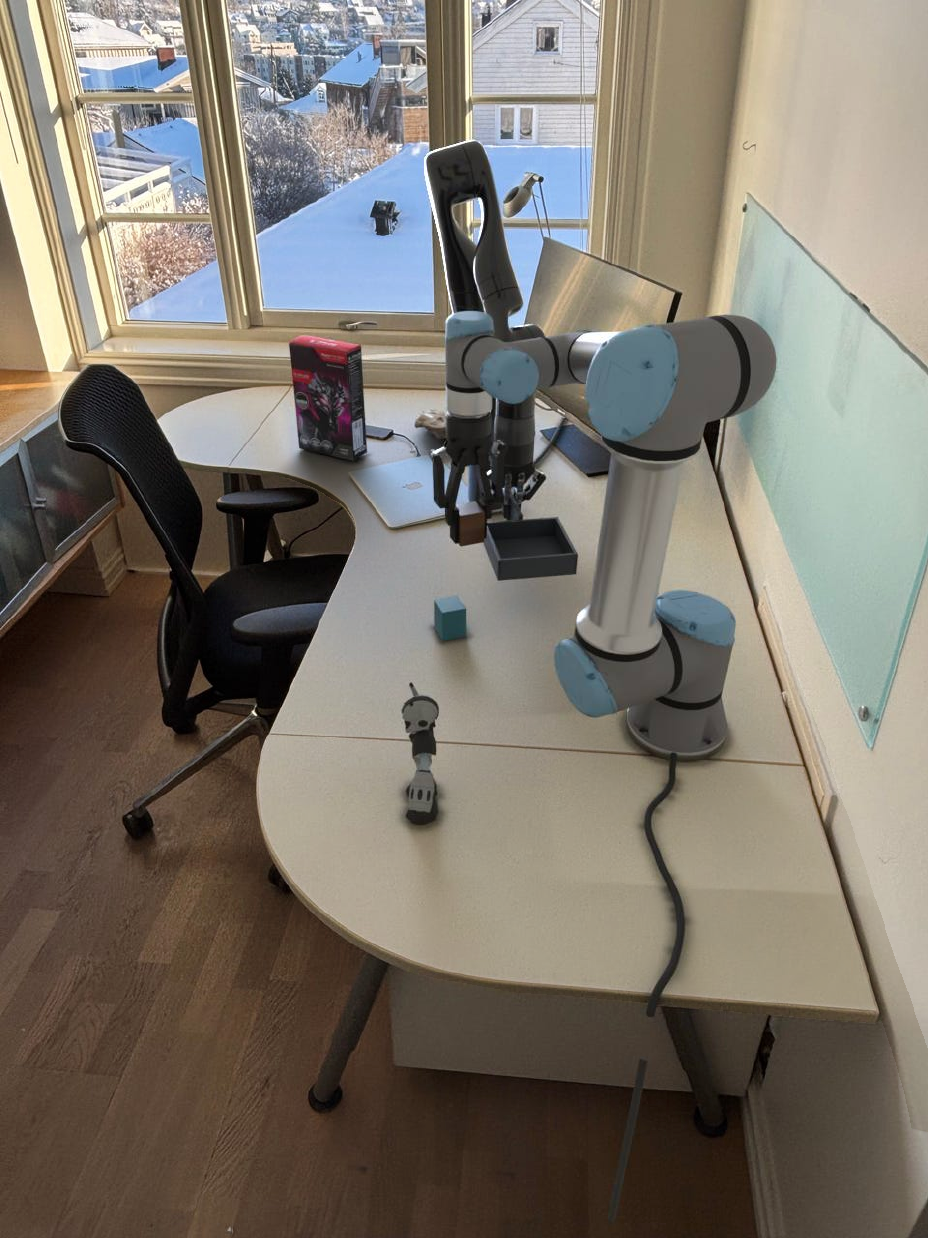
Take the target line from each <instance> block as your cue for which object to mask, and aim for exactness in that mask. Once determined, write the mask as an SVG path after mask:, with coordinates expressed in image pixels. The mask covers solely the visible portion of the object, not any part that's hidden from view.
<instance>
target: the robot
mask: <svg viewBox="0 0 928 1238" xmlns="http://www.w3.org/2000/svg"><path fill="white" fill-rule="evenodd" d="M409 688H410V691H411V693H412V697H410V698H409V699H407V700H406V701H405V702H404V703H403V705H402V707H401V714H402V719H403V721H404V725H405V726H404V727H405V728H404V732H405V733H406V734H409V735H408V739H409V740H410V742H411V755H412V757H411V758H412V760H413V761H414V763H415V766H416V770H415V773H414V775H413V777H412V779H411V781H410V783H409V785H408V786H407V787H406V789H405V793H406V795H407V798H408V809H407V812H406V813H405V818H406V819H407V820H408V821H409V822H410V823H411V824H414V825H417V826H423V825H426V824H429V823H431V822H433V821H435V820H436V819H437V816H438V814H439V810H438V809H439V808H438V802H437V800H436V797H437V795H438V786H437V782H436V781H435V780H436V779H435V777H434V774H433V773H432V772H431V769H430V768H431V766H432V765H433V759H432V757H433V756H437V740H436V738H435V731H434V728H436V720H437V719H438V717H439V713H440V707H439V704H438V702H437V701H436V700H435V699H434V698H432V697H431V696H428V695H426V694H419V692H418V690H417V689H416V687H415V685H414V683H413V682H412V681H411V682H409Z"/></svg>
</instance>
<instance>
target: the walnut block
mask: <svg viewBox="0 0 928 1238" xmlns="http://www.w3.org/2000/svg"><path fill="white" fill-rule="evenodd" d="M456 507H457V508H458V509H459V543H458V544H457V545H459V547H466V546H472V545H477V544H482V543H483V542H484V528H485V512H484V510H483V509H482V508H481V507H480V506H479V505H478V504H477V502H476V501H473V502H462V503H456Z"/></svg>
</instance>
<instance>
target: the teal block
mask: <svg viewBox="0 0 928 1238" xmlns="http://www.w3.org/2000/svg"><path fill="white" fill-rule="evenodd" d="M433 601H434V602H433V619H434V621H433V622H434V623H433V624H434V625H433V626H434V630H435V631H436V633H437V635H438V636H439V638H440V640H441V641H442V642H445V641H451V640H456V639H461V638H466V637H467V607H466V606H465V604H464V603H463V601H462V599H461V598H460V596H459V595H454V596H448V597H443V598H438V599H434V600H433Z"/></svg>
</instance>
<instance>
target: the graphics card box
mask: <svg viewBox="0 0 928 1238" xmlns="http://www.w3.org/2000/svg"><path fill="white" fill-rule="evenodd" d="M288 348H289V349H288V350H289V358H290V367H291V377H292V389H293V399H294V409H295V418H296V419H295V420H296V428H297V429H296V431H297V437H298V438H297V441H298V448H299V449H301V450H305V451H309V452H313V453H318V454H323V455H327V456H331V457H335V458H339V459H344V460H347V461H351V462H354V461H356V460H358V459H359V458H360V457H362V456H364V455H365V454H367V453H368V445H367V444H368V443H367V426H366V410H365V393H364V377H363V376H364V375H363V356H362V345H361V343H360V344H359V343H351V342H346V341H341V340H335V339H334V340H333V339H329V338H325V337H324V338H323V337H318V336H313V335H308V334H301V335H299V336H297V337H295V338H293V339H292V340H291V341H289V342H288Z"/></svg>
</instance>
